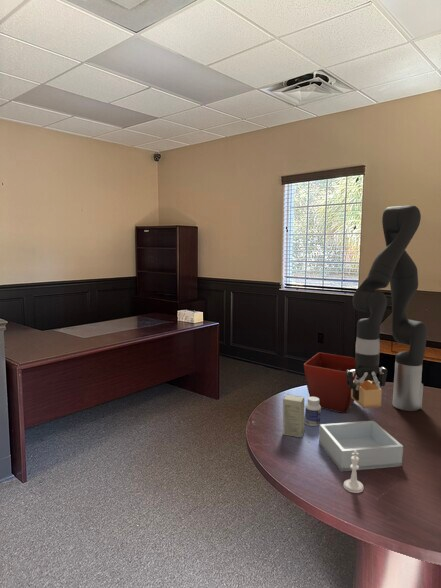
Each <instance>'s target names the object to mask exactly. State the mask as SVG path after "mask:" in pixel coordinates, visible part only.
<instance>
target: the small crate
mask: <svg viewBox="0 0 441 588" xmlns="http://www.w3.org/2000/svg"><path fill="white" fill-rule="evenodd" d="M353 382H354V380H353ZM382 393H383V389H382V388H381V387H380V388H379V387H378V386H376V385H375V384H374V383H372V381H369V380H367V381H364V382H363V384H362V385H361V386H360V387H359V400H357V401H356V400H355V399H354V398H353V389H351V398H352V399H354V400H355V401H354V402H356V403H357V404H358V405H359V406H360V407H362V408H363V409H369V408H370V409H373V408H380V407H382Z"/></svg>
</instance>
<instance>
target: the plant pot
mask: <svg viewBox="0 0 441 588" xmlns="http://www.w3.org/2000/svg"><path fill="white" fill-rule="evenodd" d="M354 368H355V357H352V356H345V355H340V354H339V355H338V354H334V353H333V354H331V353H328V352H327V353H325V352H317V353H316V354H315V355H313V356H312V357H311V358H309V359H308V360H307V361H306V362H304V363H303V369H304V370H303V371H304V377H305V383H306V387H307V392H308V395H309V396H308V397H317V398H319V400H320V402H319V405H320V406H321V409H324V410H329V411H334V412H338V413H343V414H346V413H348V411H349V409H350V408H351V407H352V405H353V404H354V403H355V402H356V401H355V400H354V399H352V398H351V388H350V387H349V386H347V378H346V370H347V369H348V370H353V369H354ZM355 377H356V373H354V377H353V380H354V379H355ZM359 380H360V379H359Z"/></svg>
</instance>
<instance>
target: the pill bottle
mask: <svg viewBox="0 0 441 588" xmlns="http://www.w3.org/2000/svg"><path fill="white" fill-rule="evenodd" d="M319 402H320V400H319V398H317V397H310V396H308V397H307V403H306V404H305V405H304V424H306V425H307V426H309V425H311V426H310V427H318V426H317V425H319V426H320V424H321V420H322V419H321V418H322V415H321V414H322V408H321V406H320V405H319Z"/></svg>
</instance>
